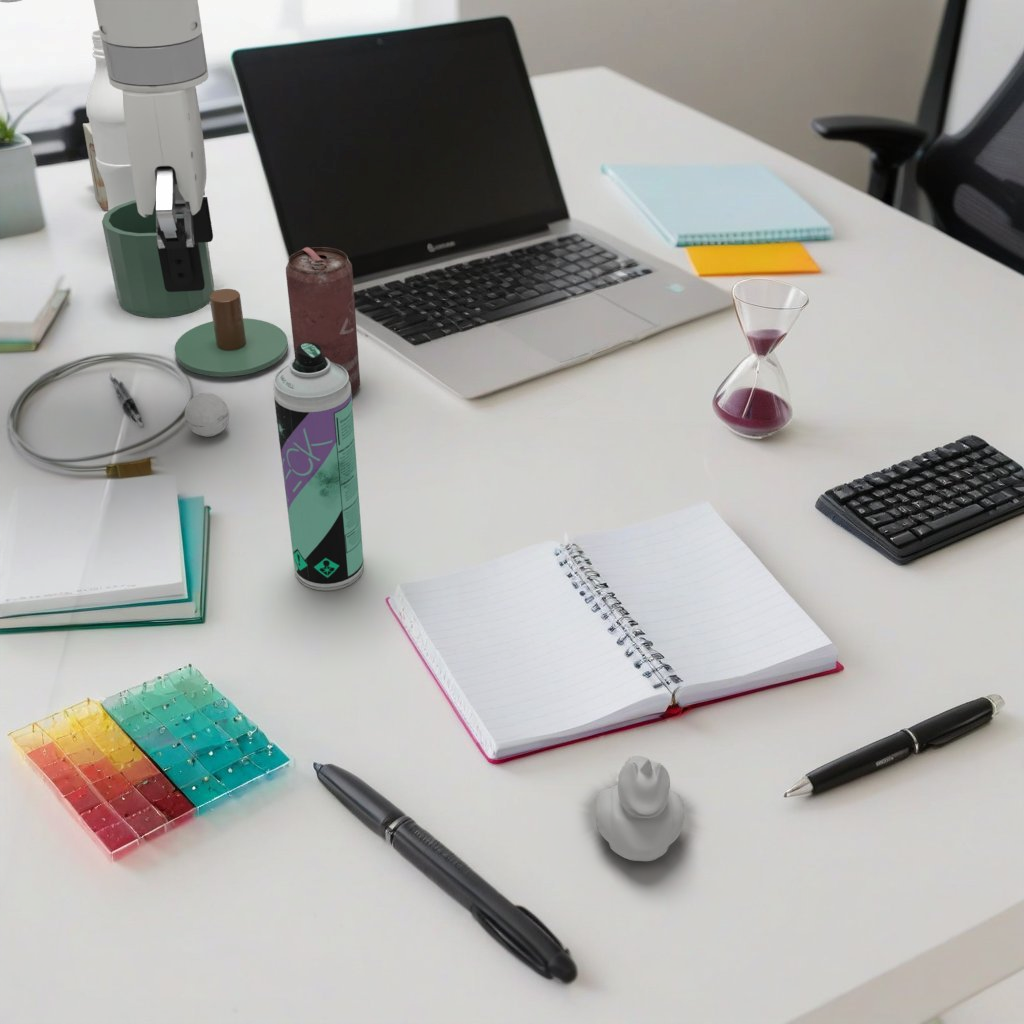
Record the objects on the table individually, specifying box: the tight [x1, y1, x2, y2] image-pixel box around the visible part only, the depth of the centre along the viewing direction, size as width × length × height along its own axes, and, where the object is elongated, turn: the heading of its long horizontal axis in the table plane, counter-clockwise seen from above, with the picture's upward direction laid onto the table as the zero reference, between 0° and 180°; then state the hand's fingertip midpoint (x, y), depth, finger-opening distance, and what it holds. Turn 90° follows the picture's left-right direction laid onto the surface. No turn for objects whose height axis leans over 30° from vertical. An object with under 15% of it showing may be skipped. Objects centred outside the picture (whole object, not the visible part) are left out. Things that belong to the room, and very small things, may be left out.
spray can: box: [272, 343, 364, 592], centre depth 86 cm, size 6×6×20 cm
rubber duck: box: [594, 755, 685, 862], centre depth 70 cm, size 5×7×8 cm
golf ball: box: [184, 392, 230, 438], centre depth 106 cm, size 4×4×4 cm
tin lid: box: [174, 288, 289, 377], centre depth 118 cm, size 11×11×7 cm
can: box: [285, 246, 361, 397], centre depth 110 cm, size 6×6×14 cm
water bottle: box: [85, 29, 136, 212], centre depth 132 cm, size 7×7×25 cm
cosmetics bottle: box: [82, 122, 108, 211], centre depth 148 cm, size 5×4×10 cm
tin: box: [101, 200, 215, 319], centre depth 127 cm, size 10×10×10 cm
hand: (190, 264), depth 100 cm, fingers open, 9 cm apart
